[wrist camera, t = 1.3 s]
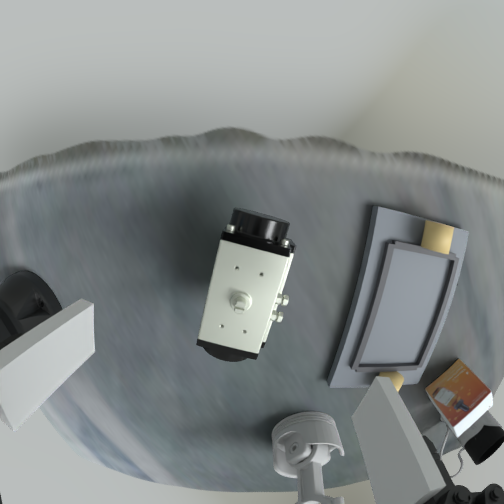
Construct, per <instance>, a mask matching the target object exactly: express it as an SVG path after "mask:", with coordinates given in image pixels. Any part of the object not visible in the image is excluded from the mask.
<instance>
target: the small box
mask: <svg viewBox="0 0 504 504" xmlns="http://www.w3.org/2000/svg"><path fill="white" fill-rule="evenodd" d="M425 390H426V392H427V394H428V396H429V398H430V400H431V402H432V403H433V405H434V406H435V407H436V409H437V410H438V411H439V413H440V414H441V416H442V417H443V419H444V420H445V421H446V423H447V424H448V426H449V427H450V429H451V430H452V431H453V433H454V434H455V436H456V437H457V438H458V437H459V436H460V435H461V434H462V433H463V432H464V431H465V430H467V429H468V428H469V427H470V426H471V425H472V424H473V423H474V422H475V421H477V420H478V419H479V418H480V417H481V416H482V415H483V414H484V413H485V412H486V411H487V410H488V409H489V408H490V407H491V406H493V399H492V391H491V390H490V389H489V388H488V387H487V386H486V385H485V383H484V382H483V381H481V379H480V378H479V377H478V376H477V375H476V374H475V373H474V372H473V371H472V370H471V369H470V368H469V367H468V366H467V365H466V364H465V363H464V362H462V361H461V360H460V359H458V360H457V361H456V362H455V363H454V364H453V365H452V366H451V367H450V368H449V369H448V370H446V371H445V372H444V373H443V374H442V375H441V376H440V377H439V378H437V379H436V380H435V381H434V382H433V383H431V384H430V385H429V386H427V387H426V388H425Z"/></svg>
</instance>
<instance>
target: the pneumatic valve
mask: <svg viewBox="0 0 504 504" xmlns="http://www.w3.org/2000/svg"><path fill="white" fill-rule="evenodd" d="M289 225H290V223H289V222H287V221H285V220H282V219H279V218H276V217H273V216H269V215H266V214H262V213H259V212H255V211H251V210H246V209H241V208H234V210H233V214H232V218H231V221H230V223H229V224H228V225H227V226H226V227H225V229H224V230H223V231H222V235H221V239H220V243H219V247H218V251H217V256H216V260H215V264H214V268H213V272H212V276H211V281H210V285H209V289H208V294H207V298H206V303H205V307H204V312H203V316H202V321H201V325H200V330H199V335H198V339H197V344H196V345H198V346H201V347H203V348H204V349H205V351H206V352H207V353H209V354H210V355H212V356H213V357H215V358H218V359H220V360H224V361H230V362H238V361H242V360H245V359H246V358H250V359H255V360H256V359H257V357H258V354H259V351H260V348H264V345H265V342H266V339H267V336H268V333H269V330H270V327H271V324H272V321H275V319H276V322H281V321H282V318H283V312H278V313H277V311H276V309H277V306H278V304H280V303H281V302H282V303H281V305H282V306H287V303H288V300H289V296H288V295H283V297H282V291H283V288H284V284H285V281H286V278H287V275H288V272H289V268H290V265H291V262H292V259H293V255H294V252H295V249H296V245H295V244H294V243H293V241H292V240H291V239H288V238H286V236H287V232H288V229H289Z"/></svg>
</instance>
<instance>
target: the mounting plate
mask: <svg viewBox="0 0 504 504" xmlns="http://www.w3.org/2000/svg"><path fill="white" fill-rule="evenodd" d="M468 235H469V232H468V231H465V230H462V229H458V228H455V227H452V226H449V225H445V224H442V223H439V222H435V221H432V220H428V219H425V218H421V217H418V216H414V215H410V214H406V213H403V212H399V211H395V210H391V209H387V208H383V207H379V206H373V208H372V214H371V220H370V225H369V231H368V236H367V241H366V246H365V250H364V255H363V260H362V264H361V268H360V273H359V277H358V281H357V285H356V289H355V293H354V297H353V300H352V304H351V308H350V311H349V315H348V318H347V321H346V325H345V328H344V331H343V335H342V338H341V341H340V344H339V347H338V350H337V353H336V356H335V359H334V362H333V365H332V368H331V371H330V373H329V376H328V379H327V383H328V386H329V388H355V387H370V386H371V384H372V382H373V381H374V379H375V377H376V376H380V377H389V378H390V380H391V381H392V383H393V385H394V386H395V388H396V390H397V392H399V390H400V388H401V386H402V385H408V384H418V382H419V380H420V378H421V376H422V374H423V372H424V370H425V368H426V366H427V364H428V361H429V359H430V357H431V355H432V353H433V350H434V348H435V346H436V343H437V341H438V338H439V336H440V333H441V331H442V328H443V325H444V323H445V320H446V317H447V314H448V311H449V308H450V305H451V302H452V299H453V296H454V293H455V289H456V286H457V282H458V279H459V275H460V271H461V267H462V263H463V259H464V255H465V250H466V245H467V240H468Z"/></svg>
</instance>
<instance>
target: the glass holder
mask: <svg viewBox="0 0 504 504" xmlns="http://www.w3.org/2000/svg"><path fill="white" fill-rule="evenodd" d="M440 419H441V421H443V422H445V423H446V421H445V420H444V419H443V417H442V416H441V417H440ZM446 424H447V423H446ZM446 427H447V433H446V436H445V439H444V442H443V445H442V448H441V451H440V458H441V459H440V460H442V452H443V449H444V445H445V442H446V440H447V437H448V434H449V428H450V427H449V426H448V424H447V425H446ZM450 430H451V429H450ZM451 431H452V430H451ZM452 432H453V431H452ZM453 434H454V433H453ZM454 435H455V434H454ZM455 437H456V436H455ZM456 438H457V437H456ZM457 440H458V441H459V442H460V444H461V445H462V447H463V448H462V449H461V450H460V451H459V453H458V458H459V459H460V462H461V467H460V470H459V472H458V473H457V474H456V475H454V476H450V478H453V477H455V476H457V475H458V474H459V473H460V472H461V470H462V468H463V460H462V458H461V456H460V453H461V451H463V450H464V449H465V450H466V451H467V452H468V454H469V455H470V457H471V458H472V460H473V461H474V463H475V464H476V465H478V464H480V463H482V462H483V461H485V460H486V459H487V458H489V457H490V456H491V455H492V454H493V453H494V452H495V451H496V450H497V449H498V448H499V447H500V446H501V445H502V443H503V442H504V430H503V429H502V426H501V425H500V424H499V423H498V422H497V421H496V419H495V418H494V417H493V416H492V415H491V414H490V413H489V411H488V410H487V411H486V412H485V413H484V414H483V415H482V416H481V417H480V418H479V419H478V420H477V421H475V422H474V423H473V424H472V425H471V426H470V427H469V428H468V429H467V430H465V431H464V432H463V433H462V434H461V435H460V436H459V437H458V438H457Z"/></svg>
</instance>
